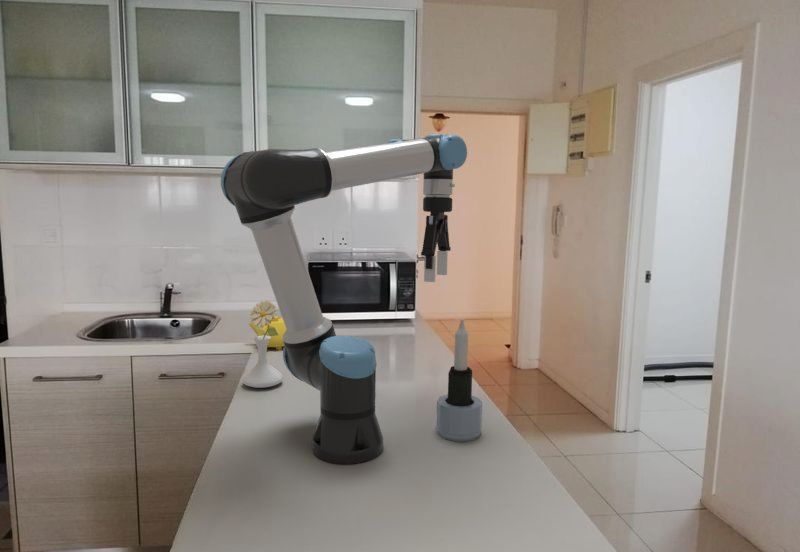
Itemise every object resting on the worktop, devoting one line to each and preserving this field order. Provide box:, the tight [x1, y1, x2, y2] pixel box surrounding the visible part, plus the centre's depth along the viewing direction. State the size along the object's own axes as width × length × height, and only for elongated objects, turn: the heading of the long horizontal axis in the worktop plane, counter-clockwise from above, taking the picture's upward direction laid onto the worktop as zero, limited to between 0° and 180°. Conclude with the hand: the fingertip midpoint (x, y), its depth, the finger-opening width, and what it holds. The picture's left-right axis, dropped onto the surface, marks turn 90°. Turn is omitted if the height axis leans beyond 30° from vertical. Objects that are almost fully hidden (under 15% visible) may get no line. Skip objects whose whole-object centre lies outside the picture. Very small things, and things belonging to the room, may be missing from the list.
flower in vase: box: [242, 299, 284, 389], centre depth 159 cm, size 13×11×25 cm
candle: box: [447, 318, 473, 406], centre depth 128 cm, size 5×5×25 cm
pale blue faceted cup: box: [436, 393, 483, 443], centre depth 129 cm, size 10×10×8 cm
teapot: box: [248, 315, 286, 351], centre depth 201 cm, size 20×18×11 cm
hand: (436, 278), depth 147 cm, fingers open, 13 cm apart
